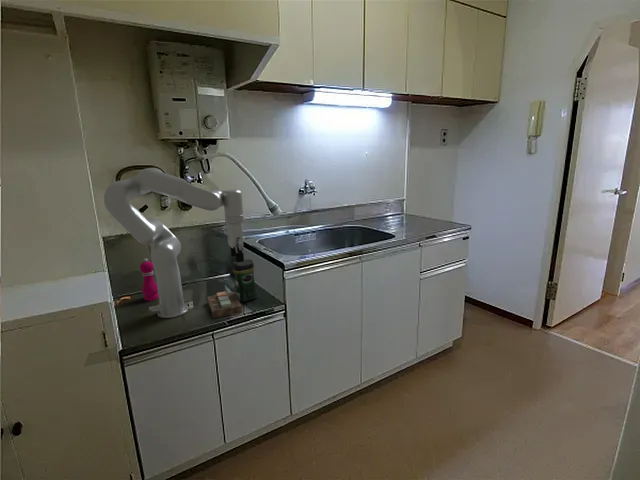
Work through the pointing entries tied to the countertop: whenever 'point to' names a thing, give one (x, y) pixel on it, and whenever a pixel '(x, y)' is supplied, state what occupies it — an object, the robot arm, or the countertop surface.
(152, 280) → the pepper mill
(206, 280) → the countertop surface
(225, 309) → the keypad
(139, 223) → the robot arm
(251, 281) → the coffee jar
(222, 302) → the sage key
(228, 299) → the grey key
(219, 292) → the terracotta key
